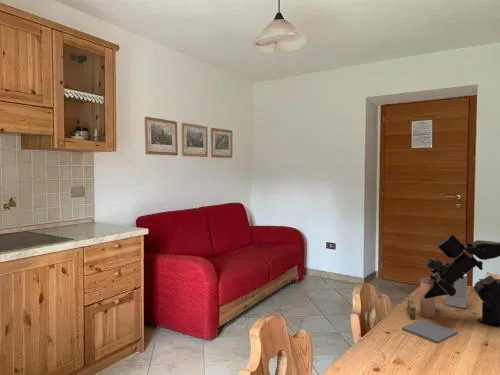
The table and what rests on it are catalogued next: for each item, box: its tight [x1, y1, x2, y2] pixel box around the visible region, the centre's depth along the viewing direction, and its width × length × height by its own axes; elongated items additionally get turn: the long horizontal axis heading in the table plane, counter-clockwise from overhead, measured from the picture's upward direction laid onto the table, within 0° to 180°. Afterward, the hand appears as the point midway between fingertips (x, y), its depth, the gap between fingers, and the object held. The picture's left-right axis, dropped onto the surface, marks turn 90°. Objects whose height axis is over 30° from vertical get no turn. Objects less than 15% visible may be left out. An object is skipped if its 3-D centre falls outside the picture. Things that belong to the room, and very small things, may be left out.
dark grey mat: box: [401, 319, 458, 344], centre depth 119 cm, size 12×12×1 cm
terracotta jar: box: [419, 277, 437, 319], centre depth 133 cm, size 5×5×13 cm
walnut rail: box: [407, 296, 416, 320], centre depth 135 cm, size 12×2×4 cm, turn 161°
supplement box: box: [444, 273, 468, 309], centre depth 144 cm, size 7×7×13 cm
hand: (423, 295), depth 133 cm, fingers closed on terracotta jar, 5 cm apart
